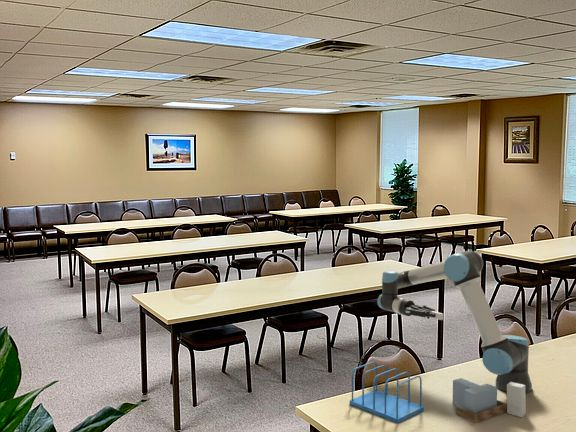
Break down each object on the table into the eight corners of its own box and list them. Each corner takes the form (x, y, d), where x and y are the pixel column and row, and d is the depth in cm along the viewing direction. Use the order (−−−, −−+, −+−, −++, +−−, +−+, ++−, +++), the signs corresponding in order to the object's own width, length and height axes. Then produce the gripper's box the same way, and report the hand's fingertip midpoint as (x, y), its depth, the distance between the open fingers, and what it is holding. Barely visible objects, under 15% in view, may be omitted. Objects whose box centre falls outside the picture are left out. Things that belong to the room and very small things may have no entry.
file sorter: (349, 404, 242) (349, 368, 241) (375, 393, 254) (375, 359, 252) (397, 423, 224) (398, 384, 222) (424, 410, 235) (424, 373, 234)
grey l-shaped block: (467, 399, 246) (468, 376, 246) (496, 411, 233) (497, 387, 233) (445, 405, 240) (445, 382, 239) (473, 418, 227) (474, 393, 226)
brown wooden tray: (486, 403, 242) (486, 396, 242) (507, 411, 234) (507, 404, 233) (455, 414, 231) (456, 406, 231) (476, 423, 223) (476, 415, 223)
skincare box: (525, 414, 231) (526, 384, 230) (521, 418, 227) (522, 387, 226) (510, 410, 235) (511, 380, 234) (506, 413, 231) (506, 384, 231)
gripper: (413, 312, 281) (452, 323, 261) (394, 316, 274) (432, 327, 254) (413, 297, 280) (452, 306, 261) (394, 300, 273) (432, 310, 254)
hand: (442, 316), depth 258 cm, fingers closed
